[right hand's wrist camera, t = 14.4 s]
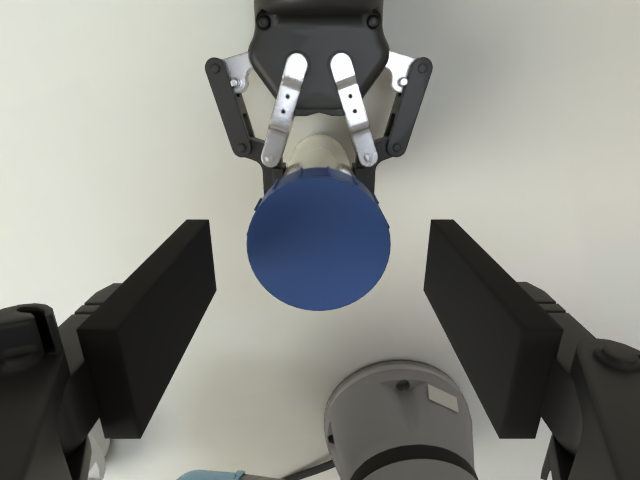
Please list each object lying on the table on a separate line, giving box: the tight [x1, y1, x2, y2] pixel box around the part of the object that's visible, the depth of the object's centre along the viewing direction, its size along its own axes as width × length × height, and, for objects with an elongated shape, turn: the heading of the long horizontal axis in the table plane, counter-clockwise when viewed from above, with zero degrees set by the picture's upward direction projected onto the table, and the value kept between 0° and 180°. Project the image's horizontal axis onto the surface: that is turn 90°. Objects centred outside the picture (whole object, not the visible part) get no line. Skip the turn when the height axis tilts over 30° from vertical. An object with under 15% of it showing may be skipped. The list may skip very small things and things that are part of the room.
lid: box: [247, 166, 391, 311], centre depth 16 cm, size 6×6×2 cm
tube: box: [282, 134, 354, 178], centre depth 24 cm, size 5×5×19 cm
